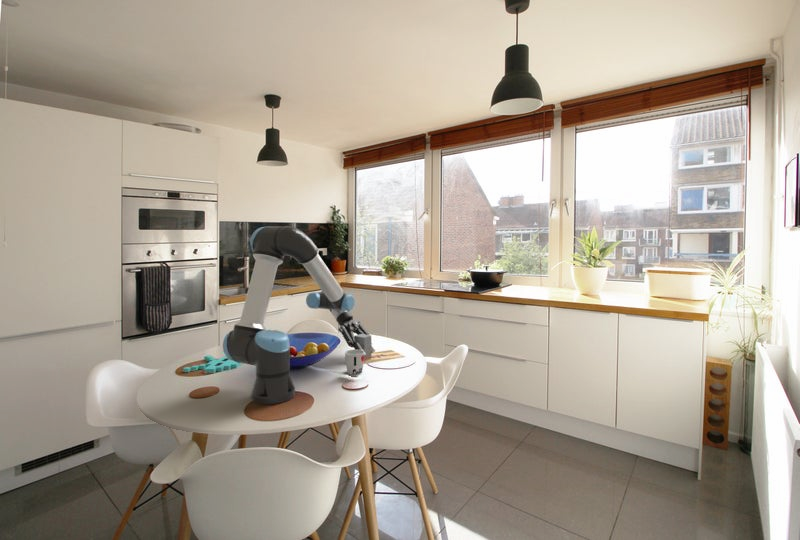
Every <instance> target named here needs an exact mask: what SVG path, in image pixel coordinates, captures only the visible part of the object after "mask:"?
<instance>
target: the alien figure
mask: <svg viewBox="0 0 800 540" xmlns="http://www.w3.org/2000/svg"><path fill="white" fill-rule="evenodd" d="M203 357H204V359H203V360H204V361H206V362H207V361H209V362H207V363H202V364H199V365H193V366H185V367H184V368H183V370H182V372H189V371H191V370H198V369H204V368H205V369H204V370H203V373H204V372H210V373H209V374H215V373H216V371H217V372H219V371H222V372H223V371H229V369H230V370H231V369H238V368H239V367H240V366H241V364H242V363H237V362H235V361H232V360H230V359H228V358H227V357H226V355H223V356H221V357H220V358H219V359H217V358H216V357H214V356H212V355H208V354H207V355H205V356H203ZM242 365H243V364H242ZM238 366H239V367H238ZM237 367H238V368H237ZM198 371H199V370H198ZM191 372H192V371H191ZM189 373H190V372H189Z"/></svg>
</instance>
